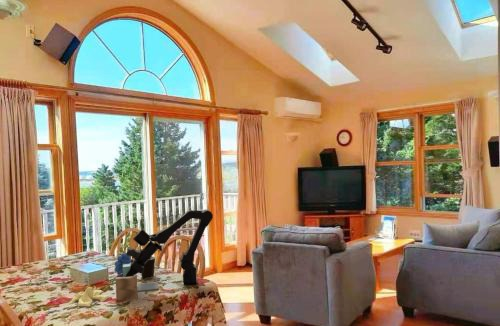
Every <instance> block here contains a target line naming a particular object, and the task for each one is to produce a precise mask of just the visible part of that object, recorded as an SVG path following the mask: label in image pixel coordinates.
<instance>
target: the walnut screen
mask: <svg viewBox="0 0 500 326" xmlns="http://www.w3.org/2000/svg"><path fill="white" fill-rule="evenodd" d="M137 290H138V276H135V275H134V276H131V277H123V276H118V277H117V276H116V278H115V296H116V297H115V301H116V302H117V300H118V301H132V300H133V301H134V300H137V298H138V292H137Z"/></svg>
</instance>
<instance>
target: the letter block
mask: <svg viewBox="0 0 500 326" xmlns="http://www.w3.org/2000/svg"><path fill="white" fill-rule="evenodd" d="M130 268H131V263H130V264H123V274H122V277H125V276H126V274H127V273H128V271H129V270H130ZM133 276H135V275H133Z"/></svg>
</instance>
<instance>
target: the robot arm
mask: <svg viewBox="0 0 500 326" xmlns="http://www.w3.org/2000/svg"><path fill="white" fill-rule="evenodd" d="M213 218H214V215H213V213H212V211H210V210H209V209H206V208H205V209H203V210H192V209H188V210H187V211H186V212H184V214H182V215H181V216H180V217H179V218H177V219H176V220H175V221H173V222H172V223H171V224H170V225H168V226H166V227H164V228H162V229H161V230H159V231H157V232H156V233H154V234H152V233H151V234H149V233H148V232H146V230H145V229H143V228H142V229H140V230H139V231H138V232H137V233H135V235H134V236H133V237H132V241H134V242H135V243H136V244H137V245H139V246H141V247H143V248H142V249H140V250H139V249H136V248H133V247H127V250H126V252H125V253H126V255H127V256H130V257H131V258H130V259H131V263H130V264H131V268H130V270H129V271H128V273H127V274H126V276H125V277H131V276H133V275H134V276H135V275H136V274H141V273H142V272H143V266H144V265H145V263H146V262H147V261H148V260H150V259H151V257H152V256H153V255H154V254H155V253H156V252H157V251H158V250H159V251H160V252H162V251H163V244H164V245H165V243H166V242H168V240H169V239H170V238H171V236H172V235H173V234H174V233H175V232H176V231H178V230H179V229H180V228H181V227H183V225H185V224H186V223H188V221H190V220H191V219H197V220H198V223H197V224H198V225H197V227H196V229H195V231H194V234H193V237H192V238H191V241H190V243H189V246H188V247H187V249H186V251H185V252H184V251H182V253H181V256H180V257H179V265H180V267H181V269H182V270H184V271H183V274H182V283H183V286H188V285H189V286H191V285H192V286H193V285H197V284H198V280H197V279H198V277H197V276H198V274H197V270H198V269H197V267H196V265H195V263H194V258H195V255H196V254H195V253H196V251H197V249H198V247H199V244H200V241H201V239H202V237H203V234H204V232H205V229H206V228H207V227H208V226H209V225H210V223H211V221H212V220H213Z"/></svg>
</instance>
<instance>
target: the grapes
mask: <svg viewBox="0 0 500 326" xmlns="http://www.w3.org/2000/svg"><path fill="white" fill-rule="evenodd" d="M126 253H127V252H122V253H121V254H120V255H118V256H117V260H116V261H115V262H114V266H115V267H114V269H113V270H114V272H116V274H117V275H118V276H120V275H123V264H131V259H132V258H131V256H127V255H126Z"/></svg>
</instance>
